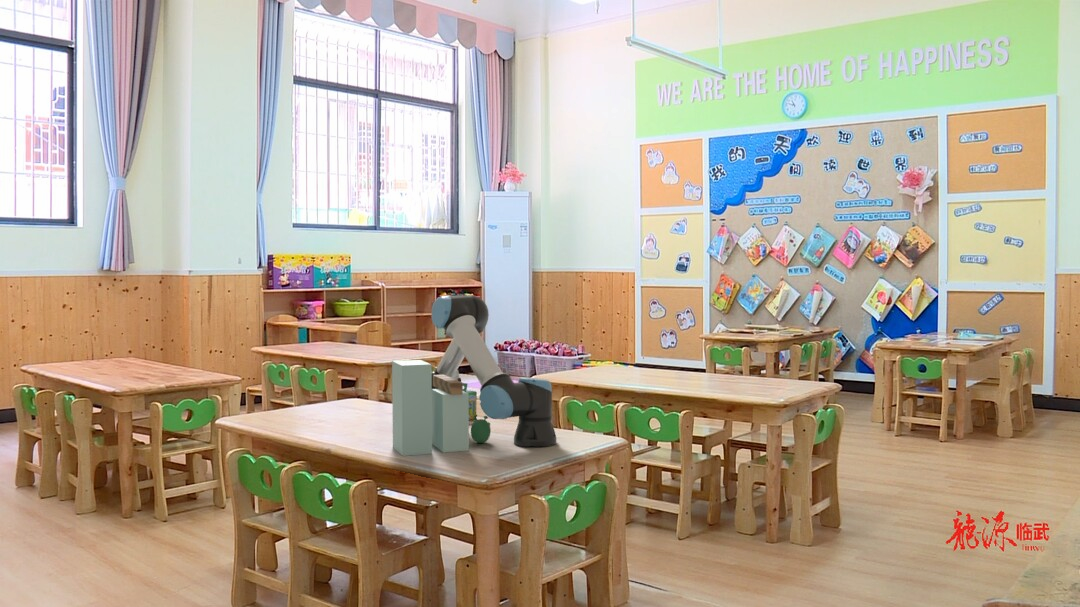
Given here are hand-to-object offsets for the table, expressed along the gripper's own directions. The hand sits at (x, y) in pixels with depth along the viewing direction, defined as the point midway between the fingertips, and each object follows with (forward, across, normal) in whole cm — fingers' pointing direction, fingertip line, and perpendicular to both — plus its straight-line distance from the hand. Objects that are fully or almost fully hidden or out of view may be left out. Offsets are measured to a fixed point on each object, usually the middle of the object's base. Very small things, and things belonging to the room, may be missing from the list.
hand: (439, 374), depth 318 cm
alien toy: (-4, -13, -26) cm, 29 cm away
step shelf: (-1, +7, -27) cm, 28 cm away
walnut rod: (+6, 0, -9) cm, 10 cm away
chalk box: (-47, -20, -1) cm, 51 cm away
